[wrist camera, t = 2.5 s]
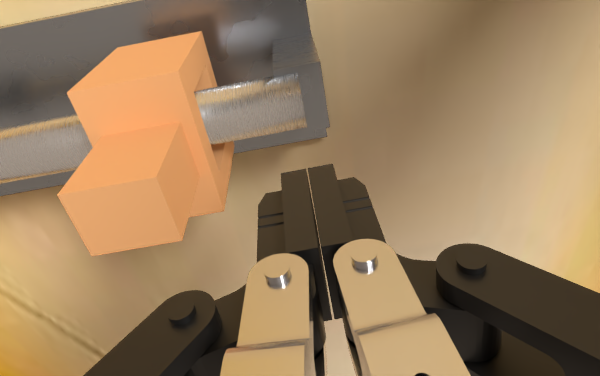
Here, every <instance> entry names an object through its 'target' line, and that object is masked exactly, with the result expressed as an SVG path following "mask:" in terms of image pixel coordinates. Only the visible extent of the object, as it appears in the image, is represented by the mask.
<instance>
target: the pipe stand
mask: <svg viewBox="0 0 600 376" xmlns="http://www.w3.org/2000/svg"><path fill="white" fill-rule="evenodd" d="M199 31H202V34H203V38H204V41H205V45H206V48H207V52H208V55H209V59H210V62H211V66H212V69H213V73H214V76H215V80H216V83H217V87H214V88H209V89H203V90H198V91H194V94H195V97H196V101H197V104H198V107H199V110H200V113H201V116H202V119H203V123H204V126H205V129H206V132H207V135H208V138H209V142H210V145H214V144H219V143H225V142H230V141H233V143H234V152H233V154H234V153H239V152H245V151H250V150H256V149H261V148H266V147H272V146H277V145H283V144H288V143H294V142H299V141H305V140H310V139H316V138H321V137H327V132H326V128H327V127H330V124H329V118H328V111H327V105H326V98H325V91H324V85H323V78H322V72H321V65H320V60H319V57H318V54H317V50H316V47H315V44H314V41H313V38H312V35H311V31H310V24H309V18H308V12H307V5H306V0H131V1H126V2H121V3H116V4H111V5H106V6H101V7H96V8H91V9H86V10H81V11H76V12H71V13H66V14H61V15H56V16H52V17H47V18H42V19H37V20H32V21H27V22H22V23H17V24H12V25H7V26H2V27H0V196H3V195H9V194H14V193H20V192H25V191H31V190H36V189H42V188H47V187H52V186H58V185H63V184H66V183H67V181H68V180H69V179H70V177H71V176H72V175H73V173H74V172H75V171H76V169H77V168H78V167H79V165H80V164H81V163H82V161H83V160H84V159H85V157H86V156H87V155H88V153H89V152H90V151H91V150H92V148H93V147H92V145H91V143H90V140H89V138H88V136H87V134H86V132H85V130H84V128H83V126H82V124H81V122H80V120H79V118H78V115H77V113H76V111H75V109H74V107H73V105H72V103H71V101H70V99H69V97H68V95H67V92H68V91H69V90H70V89H71V88H72V87H73V86H75V85H76V84H77V83H78V82H79V81H80V80H81V79H82V78H84V77H85V76H86V75H87V74H88V73H89V72H90V71H92V70H93V69H94V68H95V67H96V66H97V65H98V64H99V63H101V62H102V61H103V60H104V59H105V58H106V57H107V56H108V55H110V54H111V53H112V52H113V51H114V50H115V49H116V48H117V47H122V46H128V45H133V44H138V43H143V42H148V41H153V40H158V39H163V38H168V37H173V36H178V35H184V34H189V33H194V32H199Z"/></svg>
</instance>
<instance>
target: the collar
mask: <svg viewBox="0 0 600 376" xmlns="http://www.w3.org/2000/svg"><path fill="white" fill-rule="evenodd" d="M214 87H217V83H216V80H215V76H214V73H213V69H212V66H211V62H210V59H209V55H208V52H207V48H206V45H205V41H204V38H203V34H202V31H199V32H194V33H189V34H184V35H178V36H173V37H168V38H163V39H158V40H153V41H148V42H143V43H138V44H133V45H128V46H122V47H117V48H116V49H115V50H114V51H113V52H112V53H111V54H110V55H108V56H107V57H106V58H105V59H104V60H103V61H102V62H101V63H99V64H98V65H97V66H96V67H95V68H94V69H93V70H92V71H90V72H89V73H88V74H87V75H86V76H85V77H84V78H82V79H81V80H80V81H79V82H78V83H77V84H76V85H75V86H73V87H72V88H71V89H70V90H69V91H68V92H67V95H68V97H69V99H70V101H71V103H72V105H73V107H74V109H75V111H76V113H77V115H78V118H79V120H80V122H81V124H82V126H83V128H84V130H85V132H86V134H87V136H88V138H89V140H90V143H91V145H92V147H93V148H92V150H91V151H90V152H89V153H88V155H87V156H86V157H85V159H84V160H83V161H82V163H81V164H80V165H79V167H78V168H77V169H76V171H75V172H74V173H73V175H72V176H71V177H70V179H69V180H68V181H67V183H66V184H65V185H64V187H63V188H62V189H61V191H60V192H59V193H58V194H57V196H58V198H59V199H60V201H61V203H62V205H63V207H64V208H65V210H66V212H67V214H68V215H69V217H70V219H71V221H72V222H73V224H74V226H75V228H76V230H77V231H78V233H79V235H80V237H81V238H82V240H83V242H84V244H85V245H86V247H87V249H88V251H89V253H90V254H91V256H97V255H103V254H108V253H114V252H120V251H126V250H131V249H137V248H143V247H149V246H154V245H160V244H166V243H172V242H178V241H182V240H183V236H184V232H185V229H186V225H187V221H188V218H189V217H193V216H199V215H205V214H211V213H216V212H222V211H224V209H225V202H226V196H227V190H228V184H229V177H230V171H231V165H232V159H233V152H234V143H233V141H230V142H225V143H219V144H214V145H210V142H209V138H208V135H207V132H206V129H205V126H204V123H203V119H202V116H201V113H200V110H199V107H198V104H197V101H196V97H195V94H194V91H198V90H203V89H209V88H214Z"/></svg>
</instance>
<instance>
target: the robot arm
mask: <svg viewBox="0 0 600 376" xmlns="http://www.w3.org/2000/svg"><path fill="white" fill-rule="evenodd" d="M308 172H309V178H310V184H311V190H312V196H313V202H314V208H315V214H316V219H315V214H314V209H313V204H312V198H311V193H310V188H309V183H308V177H307V172H306V169H302V170H297V171H291V172H286V173H281V184H282V191H277V192H271V193H266V194H265V196H264V197H263V199H262V200H261V202H260V203H259V205H258V240H257V263H256V264H255V265H254V266H253V267H252V269H251V270H250V272H249V274H248V277H247V284H246V285H244V286H243V287H242V288H240V289H239V290H237V291H235V292H233V293H231V294H229V295H227V296H224V297H222V298H220V299H217V300H215V301H214V300H213V298H212V297H211V296H210V295H209V294H208V293H206V292H203V291H198V290H192V291H185V292H182V293H179V294H176V295H174V296H172V297H171V298H169V299H167V300H166V301H165V302H164V303H162V304H161V305H160V306H159V307H158V308H157V309H156V310H155V311H153V312H152V313H151V314H150V315H149V316H148V317H147V318H146V319H145V320H144V321H143V322H141V323H140V324H139V325H138V326H137V327H136V328H135V329H134V330H133V331H132V332H130V333H129V334H128V335H127V336H126V337H125V338H124V339H123V340H122V341H121V342H120V343H118V344H117V345H116V346H115V347H114V348H113V349H112V350H111V351H110V352H109V353H108V354H106V355H105V356H104V357H103V358H102V359H101V360H100V361H99V362H98V363H97V364H96V365H94V366H93V367H92V368H91V369H90V370H89V371H88V372H87V373H86V374H85V375H83V376H327V358H326V347H325V339H326V334H325V327H324V321H328V320H332V316H331V310H330V304H329V298H328V292H327V285H326V279H325V273H324V267H323V261H322V255H323V260H324V265H325V270H326V276H327V281H328V286H329V291H330V297H331V302H332V307H333V312H334V318H335V319H339V318H343V323H344V328H345V333H346V338H347V344H348V349H349V352H350V356H351V359H352V363H353V366H354V370H355V373H356V376H600V293H597V292H595V291H592V290H590V289H588V288H585V287H583V286H580V285H578V284H576V283H573V282H571V281H568V280H566V279H563V278H561V277H559V276H556V275H554V274H551V273H549V272H547V271H544V270H542V269H539V268H537V267H534V266H532V265H530V264H527V263H525V262H522V261H520V260H518V259H515V258H513V257H510V256H508V255H506V254H503V253H501V252H498V251H496V250H493V249H491V248H489V247H486V246H482V245H478V244H458V245H454V246H451V247H449V248H447V249H445V250H444V251H442V252H441V253H440V254H439V256H438V258H437V260H436V261H422V260H413V259H408V258H405V257H402V256H400V255H398V254H396V253H395V251H394V250H393V249H392V248H391V247H390V246H389V245H388V244H387V243H386V241H385V239H384V236H383V233H382V231H381V228H380V225H379V222H378V220H377V217H376V214H375V212H374V209H373V207H372V203H371V201H370V199H369V195H368V192H367V190H366V187H365V185H364V184H362V183H361V182H360V181H358V180H357V179H356V178H354V177H353V178H348V179H342V180H337V178H336V174H335V170H334V167H333V164H329V165H323V166H318V167H313V168H308ZM316 220H317V225H316ZM317 226H318V231H317ZM318 232H319V237H318ZM319 238H320V243H319ZM320 244H321V249H322V255H321V249H320Z"/></svg>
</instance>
